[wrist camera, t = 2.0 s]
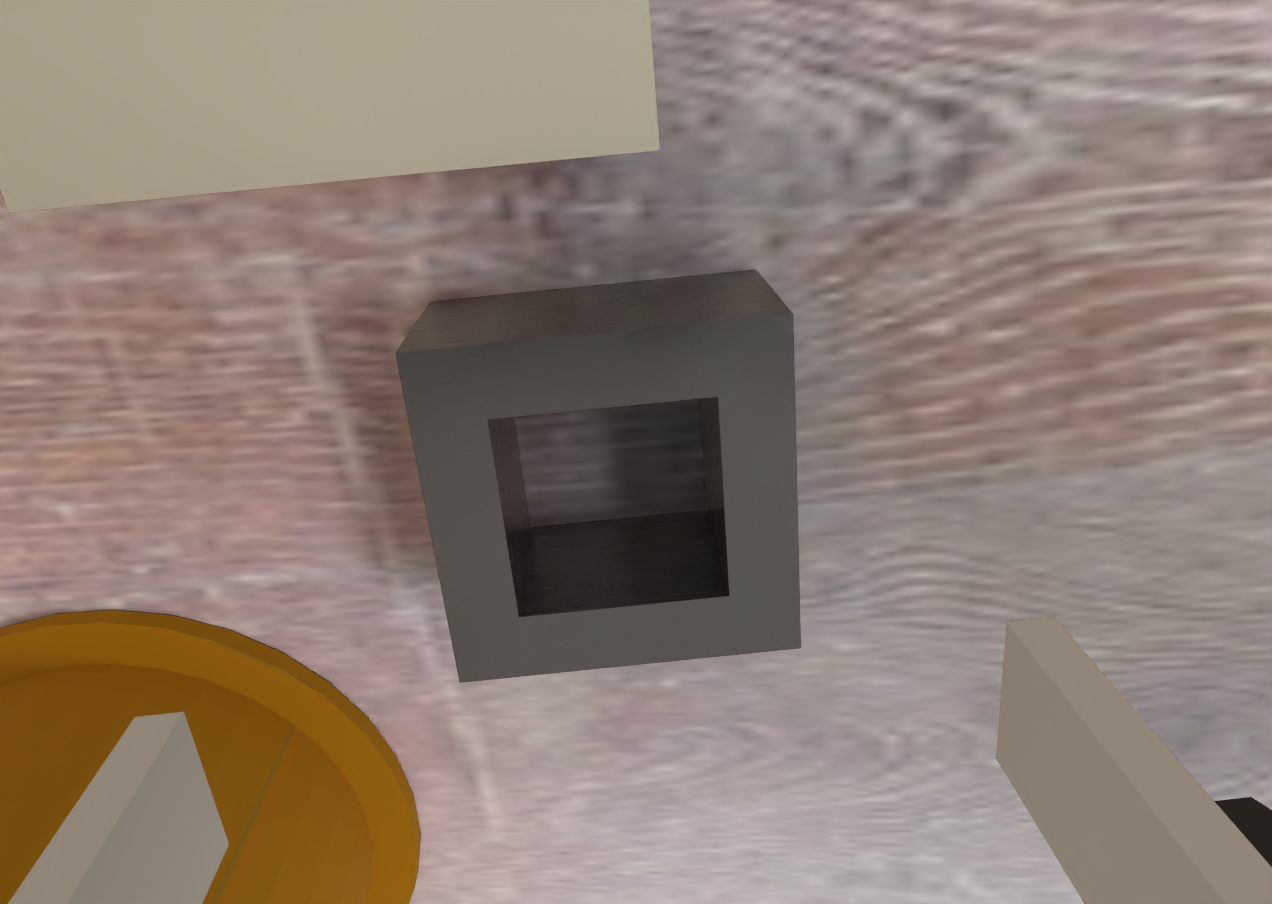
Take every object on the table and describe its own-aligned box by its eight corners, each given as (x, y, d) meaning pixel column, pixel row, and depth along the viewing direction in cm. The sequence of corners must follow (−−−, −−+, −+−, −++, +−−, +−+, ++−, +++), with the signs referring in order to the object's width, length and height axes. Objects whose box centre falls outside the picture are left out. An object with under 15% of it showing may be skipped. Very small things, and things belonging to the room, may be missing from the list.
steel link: (756, 269, 26) (792, 313, 21) (767, 556, 29) (800, 648, 24) (430, 301, 25) (395, 352, 21) (480, 584, 29) (459, 682, 24)
